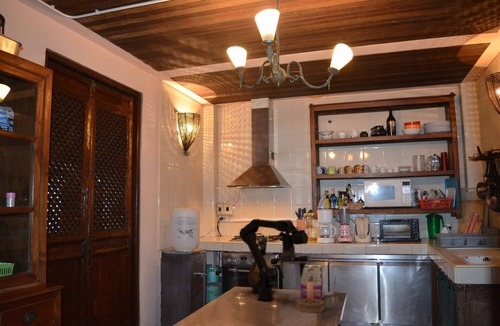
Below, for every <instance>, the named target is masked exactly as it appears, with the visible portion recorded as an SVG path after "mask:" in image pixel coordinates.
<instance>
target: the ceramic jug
mask: <svg viewBox="0 0 500 326" xmlns="http://www.w3.org/2000/svg"><path fill="white" fill-rule="evenodd" d="M267 243H268V237H266V236H264V237H262V238H261V240H258V241H257V244H258V246H259V249H260V251H261V253H262V255H263V257H264V259H265V262H266V264H267V266H268V267H269V268H273V269H274V272H275V273H276V270H275V266H274V264H273V265H271V259H270V258H269V257H268V254H267V245H268V244H267ZM247 280H248V281H247V282H248V285H249V287H251V289H252V294H256V295H259V288H257V287H256V283H257V282H258V281H259V280H260V278H259V269H258V267H257V264H256V262H255V260H253V262H252V264H251V266H250V268H249V271H248V276H247ZM275 285H276V282H275V283H274V286H275Z"/></svg>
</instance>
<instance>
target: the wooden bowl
mask: <svg viewBox="0 0 500 326" xmlns="http://www.w3.org/2000/svg"><path fill="white" fill-rule="evenodd" d="M295 302H296V304H295V305H296V310H298V311H299V312H301V313H309V314H316V313H322V312H323V311H325V310H326V303H325V301H324V300H323V299H314V303H307V298H299V299H298V300H296V301H295Z"/></svg>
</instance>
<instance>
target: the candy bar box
mask: <svg viewBox="0 0 500 326" xmlns="http://www.w3.org/2000/svg"><path fill="white" fill-rule="evenodd" d="M307 282H313V295H314V299H321V300H323V298H324V279H323V265H322V264H321V265H320V264H305V267H304V271H303V275H302V277H301V276H300V299H305V298H307Z"/></svg>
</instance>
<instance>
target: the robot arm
mask: <svg viewBox="0 0 500 326" xmlns="http://www.w3.org/2000/svg"><path fill="white" fill-rule="evenodd" d="M259 228H266V229H273V230H276V231H278V232H279V233H278V234H277V238H281V244H282V247H281V248H282V249H281V251H282V252H281V253H280V255H279V257H273V258H270V261H271V265H273V267H276V268H277V270H278V272H279V274H280V276H281V278H282V279H285V275H284V274H285V273H284V267H283V266H284V265H283V263H290V262H299V263H298V264H299V276H300V278H301V277H302V275H303V271H304V267H305V265H307V264H308V263H309V262H310V261H311V257H310V255H309V254H306V255H305V254H304V255H299V256H297V255H296V247H295V245H307V244H308V242H309V236H308V234H307V233H306V231H305V229H300V230H299V229H298V228H297V227H296V226H295V225H294V223H293V221H292V220H291V219H283V220H282V219H281V220H269V219H260V218H254V219H252V220H251V221H250V222H249V223H247V224H246V225H245V226H244V227H242V228H240V230H239V233H238V234H239V237H240V239H241V241H242V242H244V243H245V244H246V246H247V247H248V250H249V251H250V253H251V256H252V257H253V261H255V262H256V264H257V267H258V269H259V278H260V280H259V281H258V282H257V283H256V287H257V288H259V294H258V298H256V300H257V301H262V302H270V301H272V300H274V299H275V298H274V291H273V287H275V285H274V283H275V284H276V281H277V273H276V271H275V272H274V270H275V268H274V269H273V268H269V267H268V266H267V264H266V262H265V259H264V257H263V255H262V253H261V251H260V247H259V246H258V244H257V243H258V241H257V234H256V233H257V232H258V231H259Z"/></svg>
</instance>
